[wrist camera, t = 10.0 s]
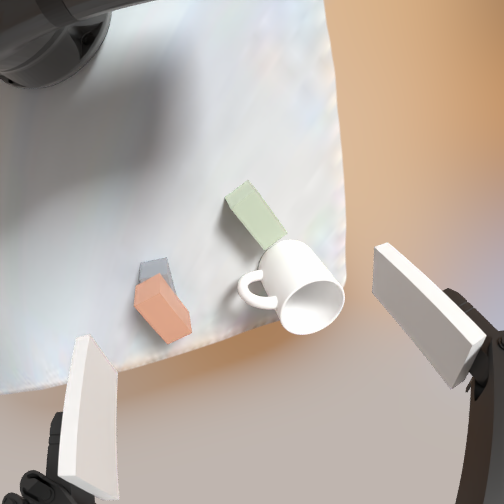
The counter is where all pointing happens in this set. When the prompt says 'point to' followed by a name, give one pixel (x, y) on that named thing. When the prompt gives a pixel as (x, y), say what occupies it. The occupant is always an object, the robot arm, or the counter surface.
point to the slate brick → (156, 271)
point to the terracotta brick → (162, 309)
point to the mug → (295, 288)
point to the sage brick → (255, 215)
